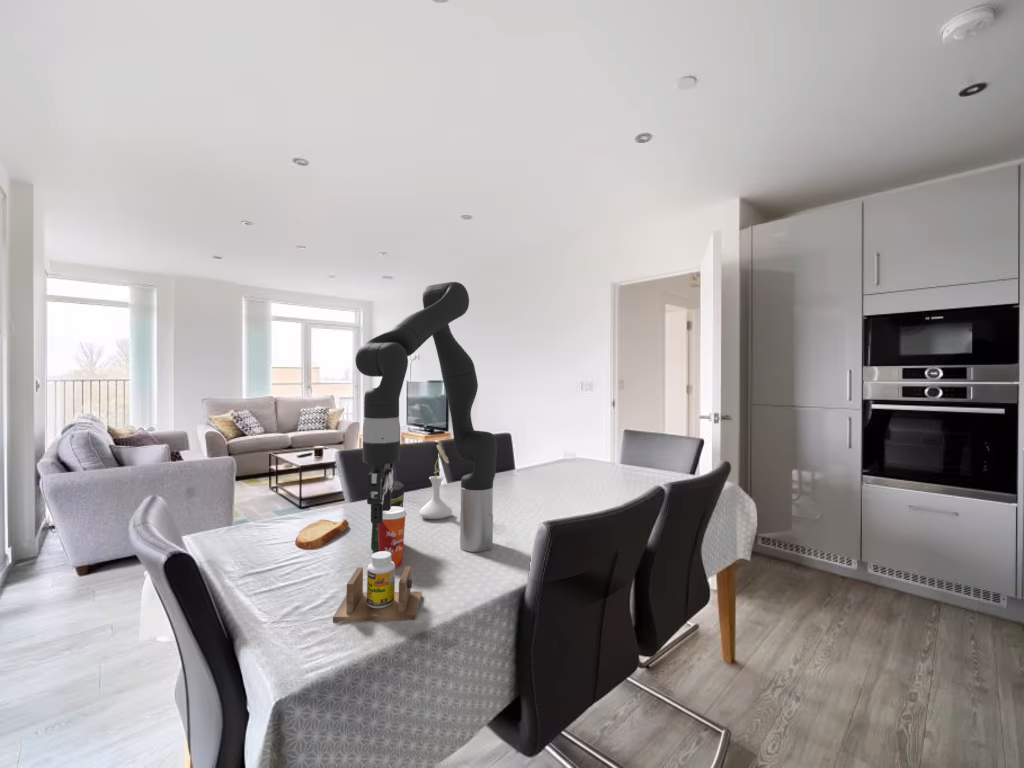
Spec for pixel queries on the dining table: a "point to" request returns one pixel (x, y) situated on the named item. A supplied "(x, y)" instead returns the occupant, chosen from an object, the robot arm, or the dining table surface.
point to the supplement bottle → (380, 580)
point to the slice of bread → (319, 533)
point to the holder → (358, 609)
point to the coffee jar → (396, 500)
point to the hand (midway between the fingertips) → (381, 516)
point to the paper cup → (392, 533)
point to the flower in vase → (436, 496)
